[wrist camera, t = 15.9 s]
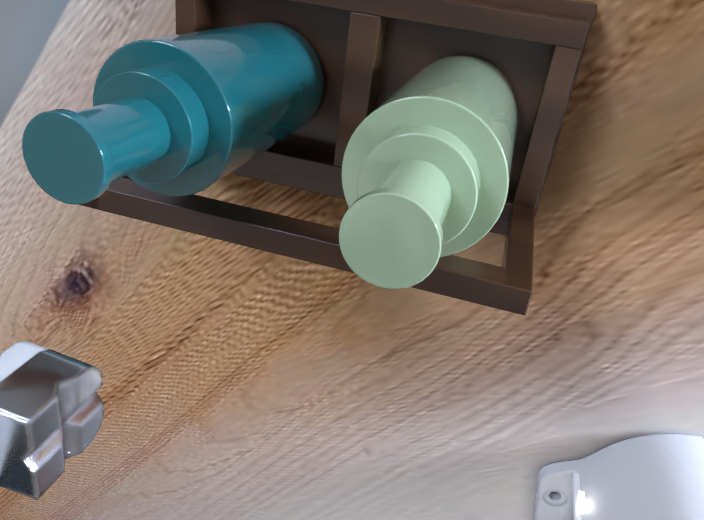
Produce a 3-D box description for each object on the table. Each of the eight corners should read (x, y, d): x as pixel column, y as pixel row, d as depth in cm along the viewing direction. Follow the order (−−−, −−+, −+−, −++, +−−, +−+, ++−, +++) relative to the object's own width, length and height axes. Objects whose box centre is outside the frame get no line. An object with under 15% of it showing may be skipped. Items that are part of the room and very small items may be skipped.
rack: (528, 230, 37) (522, 348, 26) (200, 157, 41) (76, 233, 30) (595, 2, 31) (624, 31, 20) (201, -58, 35) (43, -62, 24)
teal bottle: (317, 144, 36) (152, 269, 21) (219, 123, 37) (-8, 227, 22) (330, 31, 33) (148, 77, 18) (223, 12, 35) (-36, 40, 19)
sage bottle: (502, 182, 34) (472, 358, 19) (392, 159, 36) (279, 307, 20) (531, 66, 31) (525, 161, 16) (411, 45, 33) (295, 115, 17)
